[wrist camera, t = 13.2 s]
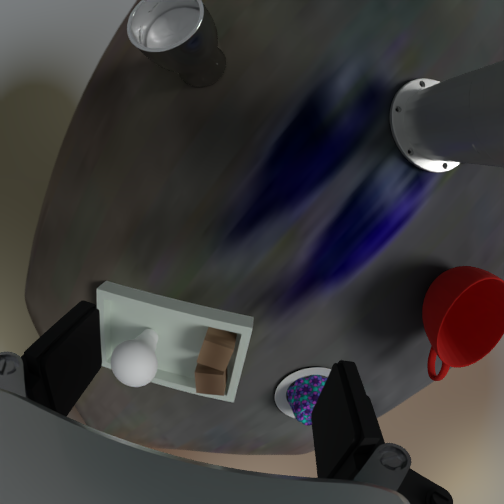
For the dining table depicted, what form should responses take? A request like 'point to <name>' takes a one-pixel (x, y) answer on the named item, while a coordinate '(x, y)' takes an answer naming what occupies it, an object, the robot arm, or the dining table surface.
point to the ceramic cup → (462, 317)
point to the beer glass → (178, 39)
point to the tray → (170, 333)
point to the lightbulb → (136, 359)
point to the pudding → (301, 393)
